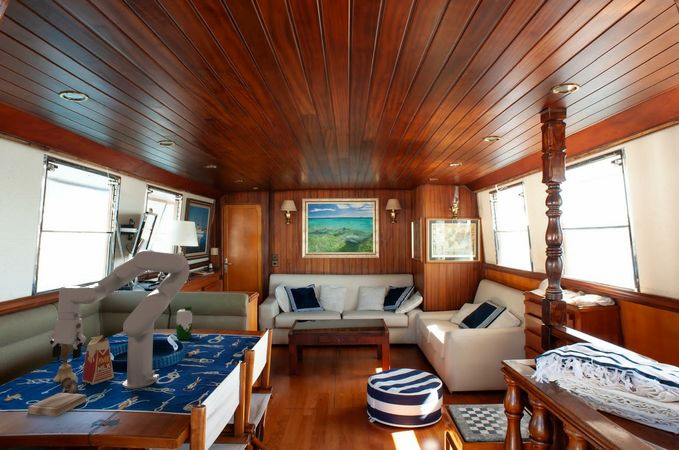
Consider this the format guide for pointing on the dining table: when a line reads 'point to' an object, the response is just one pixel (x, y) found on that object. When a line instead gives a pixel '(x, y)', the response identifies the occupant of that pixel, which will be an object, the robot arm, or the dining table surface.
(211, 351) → the dining table surface
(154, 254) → the robot arm
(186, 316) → the soya milk
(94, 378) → the milk carton
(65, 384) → the brown bird figurine
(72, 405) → the tan wooden tray
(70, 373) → the hand bell
